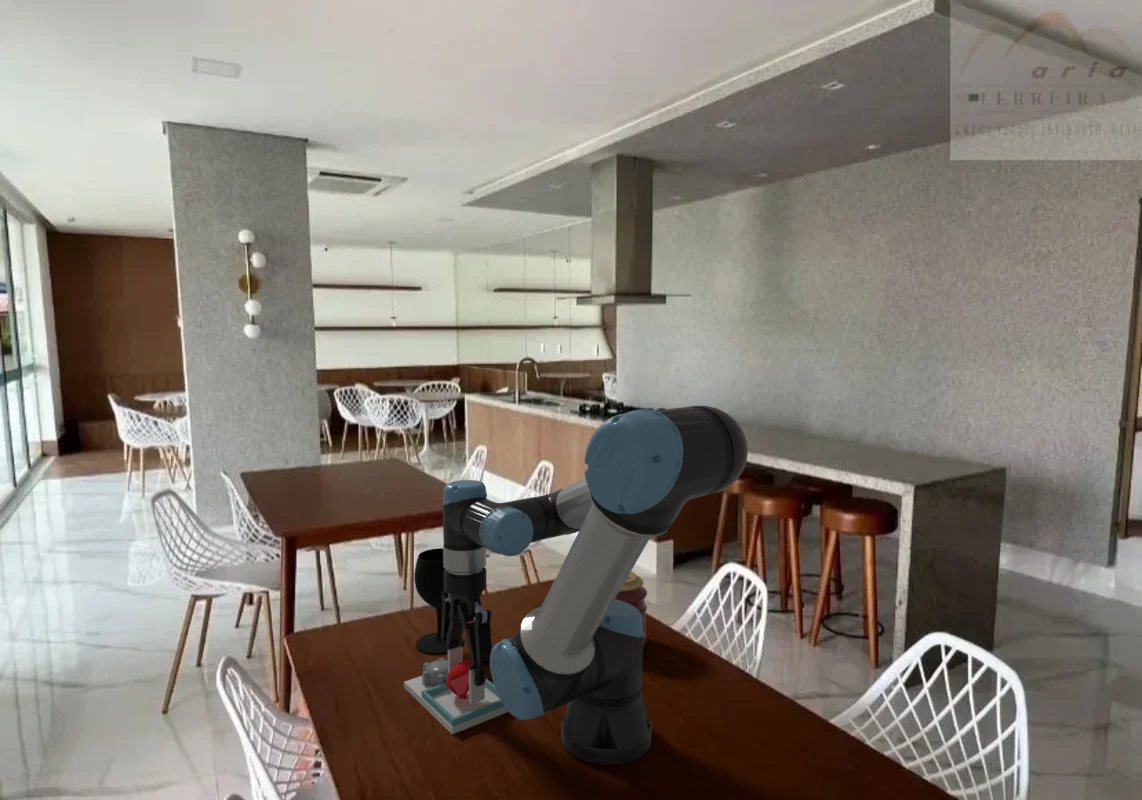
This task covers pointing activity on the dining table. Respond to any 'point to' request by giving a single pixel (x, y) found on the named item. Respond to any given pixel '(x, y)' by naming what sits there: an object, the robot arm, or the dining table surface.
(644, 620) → the canister
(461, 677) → the cap
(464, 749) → the dining table surface
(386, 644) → the dining table surface
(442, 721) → the carrier board
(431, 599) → the wine glass
